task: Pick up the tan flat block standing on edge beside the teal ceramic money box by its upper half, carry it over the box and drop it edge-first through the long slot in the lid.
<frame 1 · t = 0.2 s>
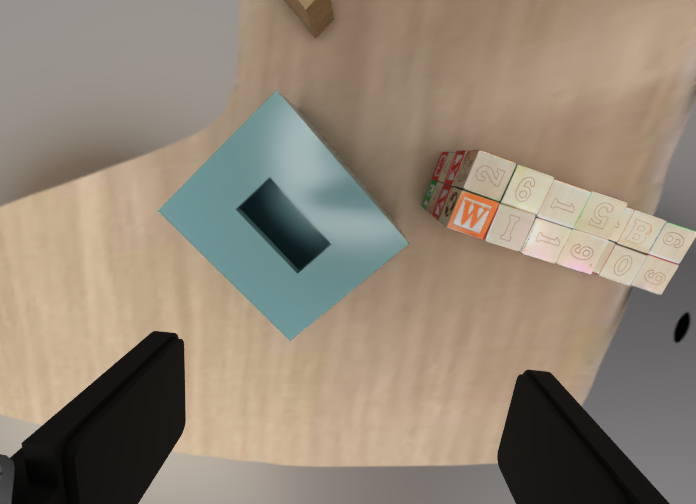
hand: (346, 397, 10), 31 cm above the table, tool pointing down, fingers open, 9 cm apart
tan flat block: (307, 7, 34), on the table
coin box: (301, 210, 39), on the table
stack of blocks: (519, 210, 39), on the table
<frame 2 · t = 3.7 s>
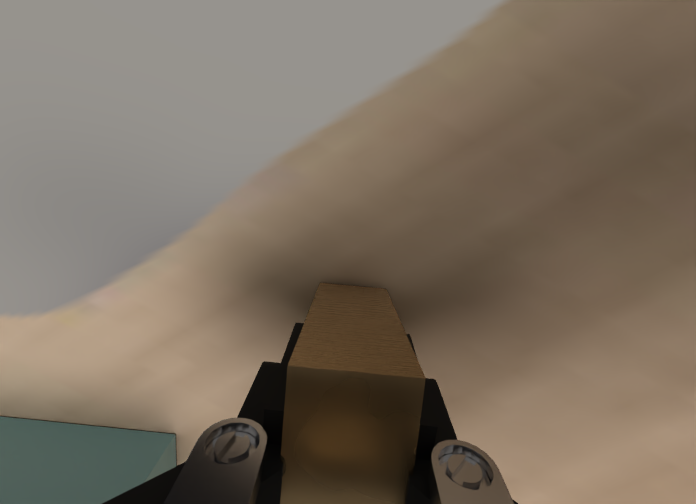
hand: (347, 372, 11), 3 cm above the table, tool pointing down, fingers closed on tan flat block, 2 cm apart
tan flat block: (346, 348, 14), point 1 cm above the table, tilted 8°, touching gripper
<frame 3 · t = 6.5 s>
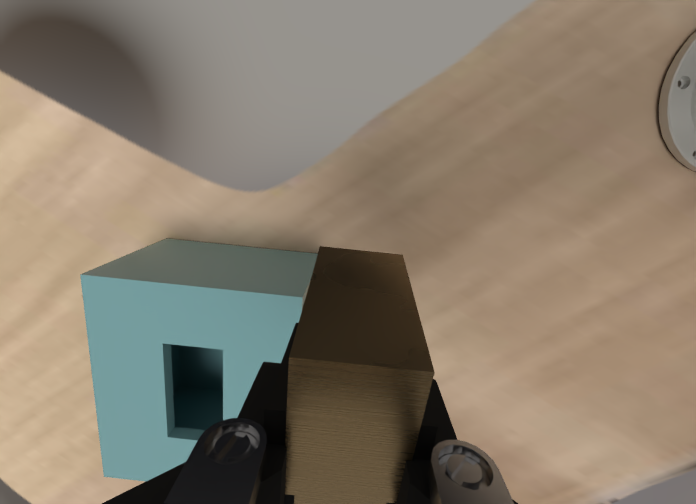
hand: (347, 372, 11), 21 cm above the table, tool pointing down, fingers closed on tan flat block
tan flat block: (335, 485, 11), point 21 cm above the table, tilted 82°, touching gripper
coin box: (242, 326, 34), on the table
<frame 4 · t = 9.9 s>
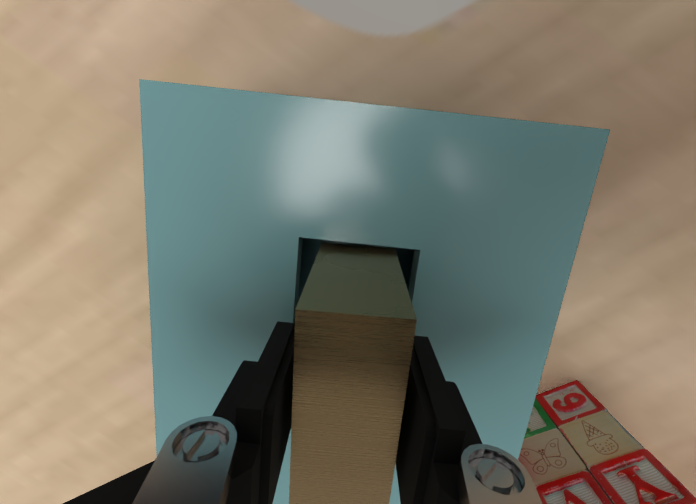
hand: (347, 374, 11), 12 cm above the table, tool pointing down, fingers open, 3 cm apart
tan flat block: (339, 468, 12), point 12 cm above the table, tilted 87°
coin box: (351, 264, 22), on the table
stack of blocks: (574, 501, 27), on the table
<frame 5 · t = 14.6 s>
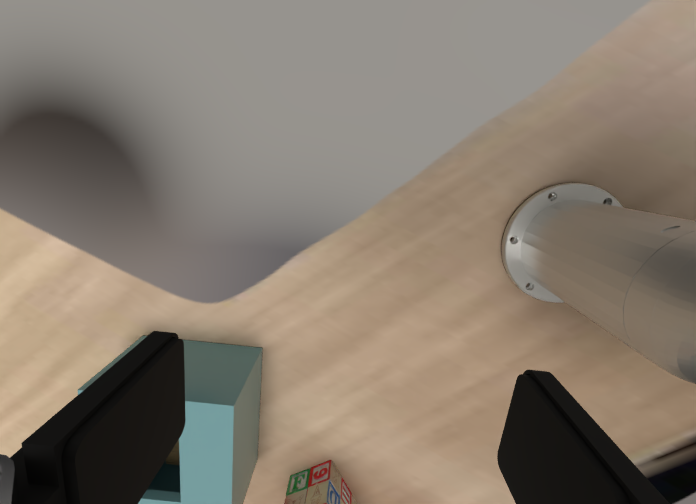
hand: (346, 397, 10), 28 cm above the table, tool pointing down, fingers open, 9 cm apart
coin box: (203, 400, 43), on the table
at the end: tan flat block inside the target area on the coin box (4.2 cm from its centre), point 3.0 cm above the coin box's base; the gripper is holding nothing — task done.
